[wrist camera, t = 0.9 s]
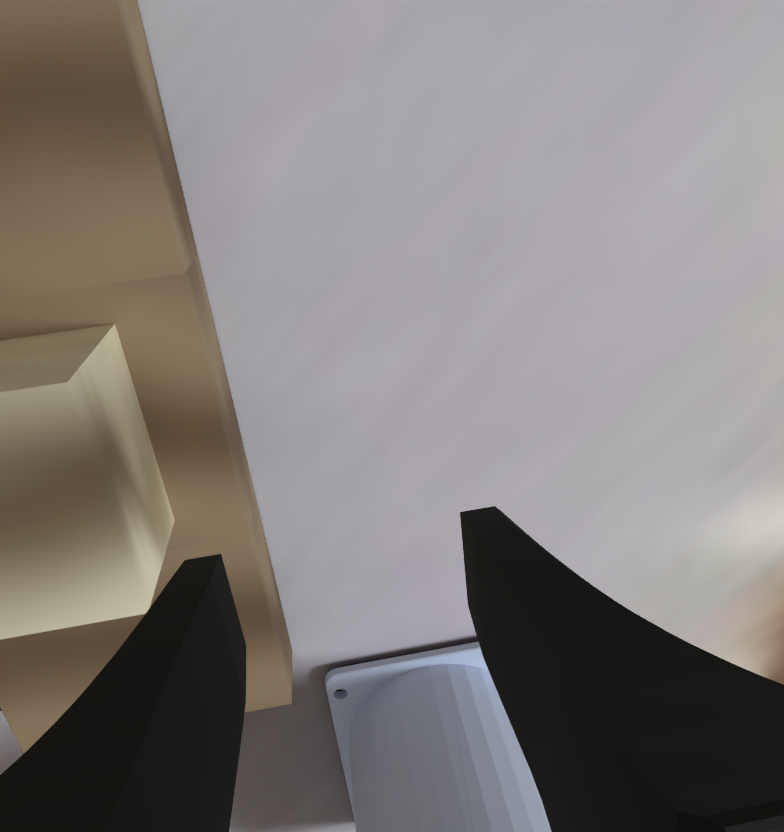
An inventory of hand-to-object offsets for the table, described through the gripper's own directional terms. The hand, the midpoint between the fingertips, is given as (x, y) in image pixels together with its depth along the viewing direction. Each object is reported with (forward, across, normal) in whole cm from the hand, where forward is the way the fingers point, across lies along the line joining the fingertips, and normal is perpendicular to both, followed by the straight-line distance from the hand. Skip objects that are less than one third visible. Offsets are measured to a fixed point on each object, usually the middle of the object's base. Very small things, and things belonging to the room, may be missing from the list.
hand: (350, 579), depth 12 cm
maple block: (+8, +8, 0) cm, 11 cm away
